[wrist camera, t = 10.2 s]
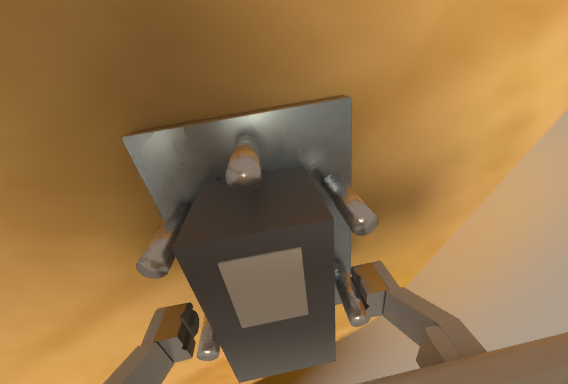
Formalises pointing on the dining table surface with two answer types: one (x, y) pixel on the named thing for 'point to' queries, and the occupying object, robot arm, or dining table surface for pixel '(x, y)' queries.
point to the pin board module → (253, 178)
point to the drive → (263, 272)
